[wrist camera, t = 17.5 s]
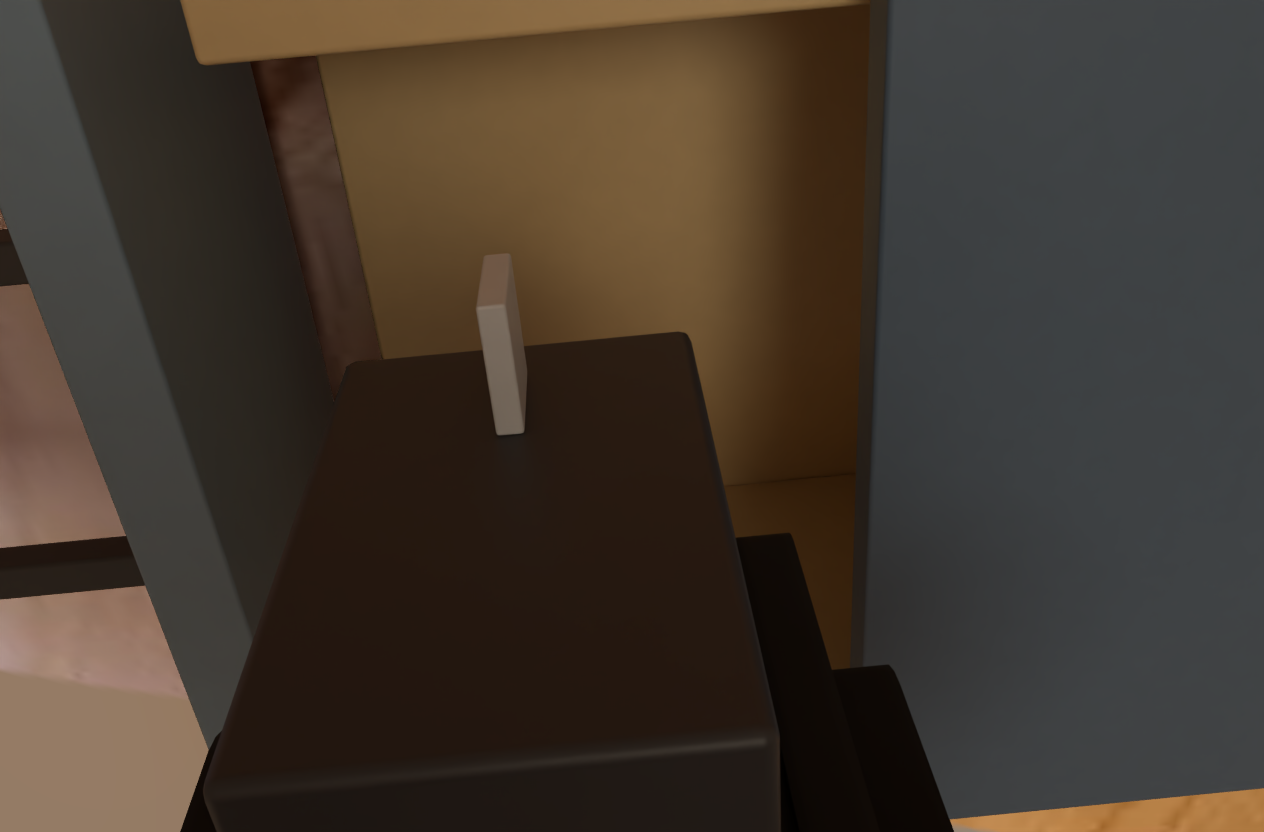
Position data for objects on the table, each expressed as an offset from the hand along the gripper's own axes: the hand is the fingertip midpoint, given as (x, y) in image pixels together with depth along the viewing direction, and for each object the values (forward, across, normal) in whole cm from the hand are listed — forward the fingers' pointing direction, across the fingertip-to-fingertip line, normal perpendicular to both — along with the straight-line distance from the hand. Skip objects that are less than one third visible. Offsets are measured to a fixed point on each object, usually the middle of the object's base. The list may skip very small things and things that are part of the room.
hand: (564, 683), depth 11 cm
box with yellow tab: (0, 0, 0) cm, 0 cm away
